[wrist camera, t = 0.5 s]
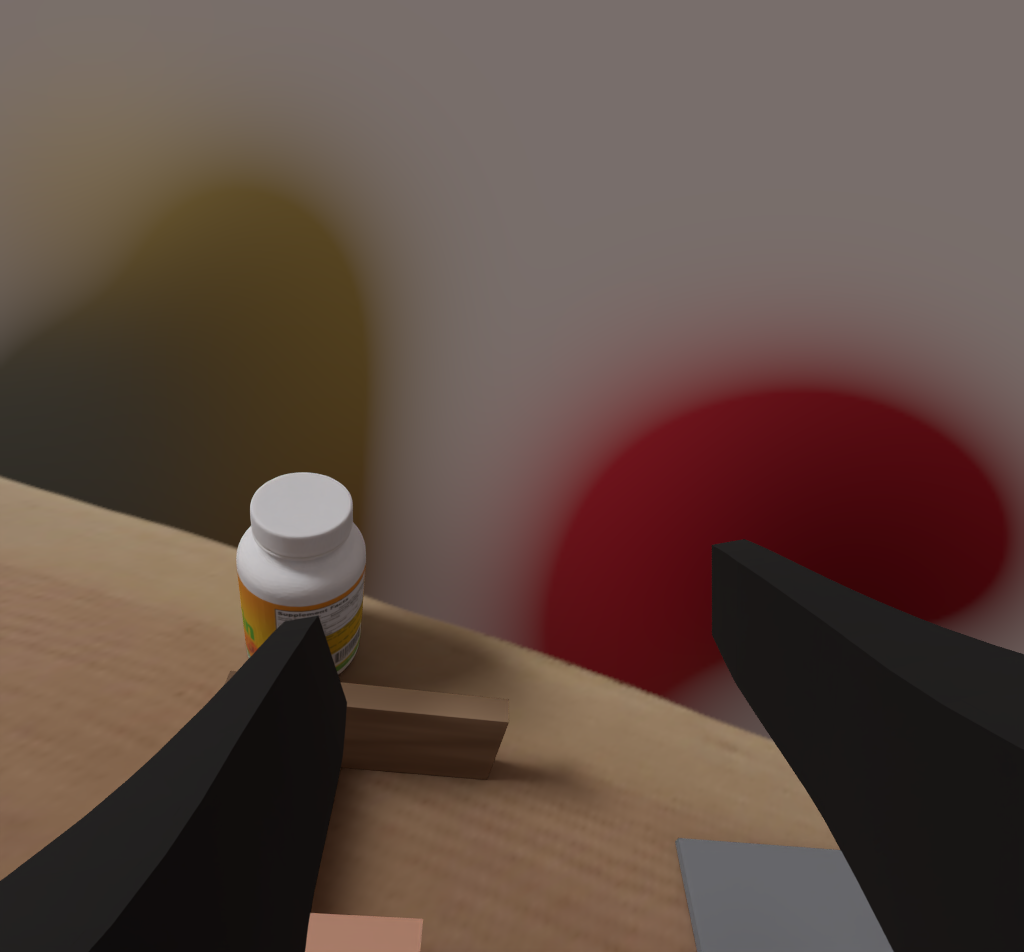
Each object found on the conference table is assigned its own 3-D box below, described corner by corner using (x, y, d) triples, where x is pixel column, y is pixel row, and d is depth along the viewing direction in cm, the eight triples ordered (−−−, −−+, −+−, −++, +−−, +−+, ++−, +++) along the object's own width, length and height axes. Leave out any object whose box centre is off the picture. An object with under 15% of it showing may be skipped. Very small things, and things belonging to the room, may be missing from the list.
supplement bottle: (248, 607, 31) (232, 462, 25) (354, 596, 33) (362, 459, 27) (245, 700, 28) (226, 555, 22) (365, 682, 29) (378, 544, 24)
